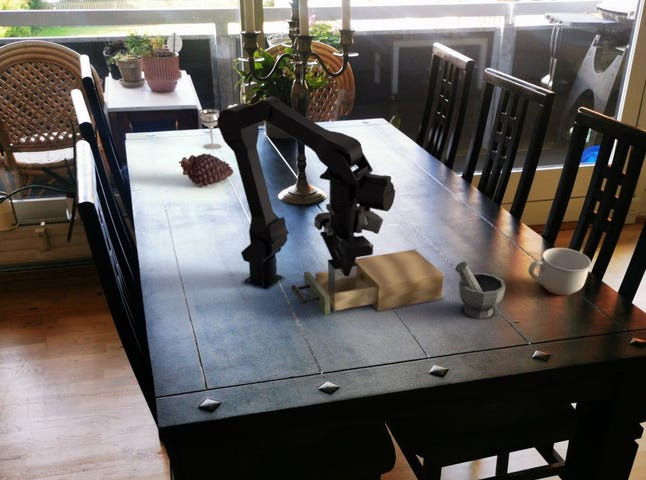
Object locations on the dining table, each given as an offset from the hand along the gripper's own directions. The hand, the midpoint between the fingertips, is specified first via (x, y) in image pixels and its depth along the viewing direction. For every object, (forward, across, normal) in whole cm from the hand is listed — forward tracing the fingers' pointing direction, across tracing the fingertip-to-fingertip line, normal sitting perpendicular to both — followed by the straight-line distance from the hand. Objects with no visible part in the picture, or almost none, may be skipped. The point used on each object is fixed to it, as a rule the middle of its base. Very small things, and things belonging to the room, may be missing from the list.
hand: (342, 270), depth 158 cm
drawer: (+7, 0, +1) cm, 7 cm away
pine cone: (+8, +84, +10) cm, 85 cm away
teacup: (+8, -12, -48) cm, 50 cm away
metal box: (+5, 0, 0) cm, 5 cm away
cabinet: (+7, 0, -14) cm, 15 cm away
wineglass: (+8, +121, 0) cm, 121 cm away
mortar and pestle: (+8, -15, -26) cm, 30 cm away
